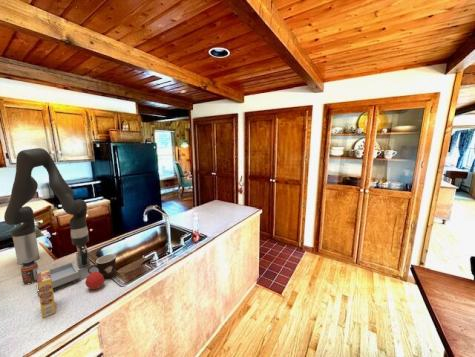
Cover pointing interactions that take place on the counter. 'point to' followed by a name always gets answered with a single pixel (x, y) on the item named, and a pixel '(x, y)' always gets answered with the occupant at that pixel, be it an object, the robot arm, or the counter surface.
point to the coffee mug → (106, 266)
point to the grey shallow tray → (63, 274)
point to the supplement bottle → (29, 271)
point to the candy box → (46, 293)
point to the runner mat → (82, 274)
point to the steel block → (81, 261)
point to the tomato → (94, 280)
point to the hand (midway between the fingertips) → (83, 262)
